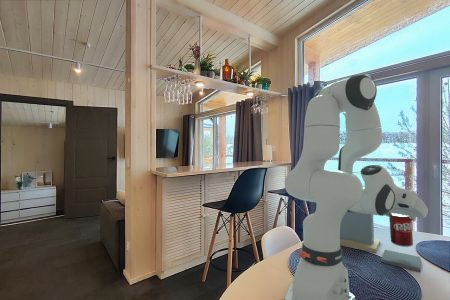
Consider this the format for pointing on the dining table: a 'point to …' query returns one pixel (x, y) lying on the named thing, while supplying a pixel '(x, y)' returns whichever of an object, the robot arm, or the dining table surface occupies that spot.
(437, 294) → the dining table surface
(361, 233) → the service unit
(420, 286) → the dining table surface
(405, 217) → the soda can
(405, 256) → the pad
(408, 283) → the dining table surface
